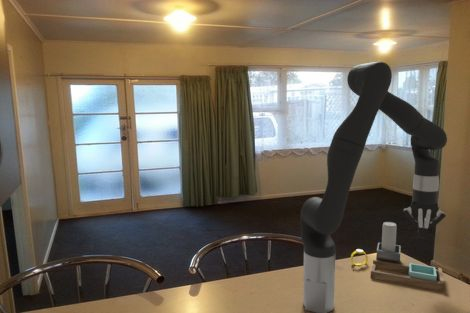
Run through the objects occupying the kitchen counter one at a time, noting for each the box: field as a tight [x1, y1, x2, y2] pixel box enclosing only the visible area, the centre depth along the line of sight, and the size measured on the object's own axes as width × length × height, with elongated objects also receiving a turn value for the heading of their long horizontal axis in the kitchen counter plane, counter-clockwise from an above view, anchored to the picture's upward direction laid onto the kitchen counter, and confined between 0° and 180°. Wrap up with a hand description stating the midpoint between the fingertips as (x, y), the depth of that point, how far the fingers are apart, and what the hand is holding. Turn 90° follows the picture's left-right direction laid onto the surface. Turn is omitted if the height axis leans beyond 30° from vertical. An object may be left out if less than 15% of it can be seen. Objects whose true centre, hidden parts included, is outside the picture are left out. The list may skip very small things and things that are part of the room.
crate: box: [408, 262, 438, 282], centre depth 120 cm, size 7×8×4 cm
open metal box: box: [375, 242, 402, 264], centre depth 133 cm, size 8×8×6 cm
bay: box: [370, 259, 445, 292], centre depth 122 cm, size 10×22×4 cm, turn 64°
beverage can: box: [381, 221, 398, 252], centre depth 132 cm, size 5×5×12 cm
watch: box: [350, 248, 369, 267], centre depth 133 cm, size 6×3×6 cm, turn 86°
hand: (422, 237), depth 119 cm, fingers closed
